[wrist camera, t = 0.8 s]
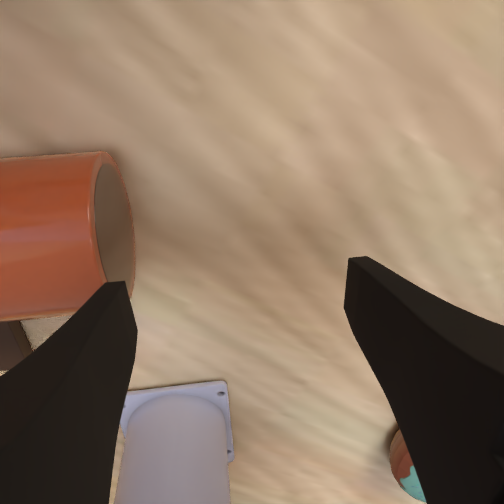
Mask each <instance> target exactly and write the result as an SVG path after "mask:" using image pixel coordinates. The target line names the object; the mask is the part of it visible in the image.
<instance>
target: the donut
mask: <svg viewBox="0 0 504 504" xmlns="http://www.w3.org/2000/svg"><path fill="white" fill-rule="evenodd" d="M390 464H391V470H392V473H393V475H394V477H395V479H396V480H397V482H398V484H399V485H400V487H401V488H402V489H403V490H404V491H405V492H407V493H408V494H409V495H411V496H412V497H414V498H415V499H418V500H421V501H423V502H426V499H425V497H424V494H423V491H422V488H421V485H420V482H419V479H418V477H417V474H416V471H415V468H414V465H413V462H412V460H411V457H410V454H409V452H408V449H407V446H406V444H405V441H404V439H403V436H402V433H401V431H400V429H399V430H398V431H397V433H396V435H395V437H394V439H393V441H392V443H391V447H390Z"/></svg>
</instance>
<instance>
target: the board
mask: <svg viewBox="0 0 504 504" xmlns="http://www.w3.org/2000/svg"><path fill="white" fill-rule="evenodd" d="M32 352H33V351H32V349H31V347H30V345H29V343H28V340H27V338H26V336H25V334H24V331H23V329H22V327H21V325H20V323H19V321H11V322H2V323H0V371H3V370H10V369H12V368H13V367H14V366H15V365H17V364H18V363H19V362H21V361H22V360H23V359H25V358H26V357H27V356H28V355H30V354H31V353H32Z"/></svg>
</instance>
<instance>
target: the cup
mask: <svg viewBox="0 0 504 504" xmlns="http://www.w3.org/2000/svg"><path fill="white" fill-rule="evenodd" d="M134 278H135V241H134V230H133V222H132V215H131V210H130V205H129V200H128V196H127V192H126V188H125V185H124V182H123V179H122V176H121V173H120V171H119V169H118V167H117V165H116V163H115V161H114V160H113V158H112V157H111V156H110V155H109V154H108V153H107V152H104V151H96V152H81V153H67V154H53V155H38V156H24V157H10V158H0V323H2V322H11V321H21V320H31V319H40V318H50V317H60V316H69V315H74V314H75V313H76V312H77V311H78V310H79V309H80V308H81V307H82V306H83V305H84V304H85V302H86V301H87V300H88V299H89V298H90V297H91V296H92V295H93V294H94V293H95V292H96V291H97V290H98V289H99V288H100V287H101V286H102V285H103V284H104V283H105V282H115V281H125V283H126V286H127V290H128V294H129V298H131V295H132V291H133V286H134Z"/></svg>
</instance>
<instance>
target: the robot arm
mask: <svg viewBox="0 0 504 504" xmlns="http://www.w3.org/2000/svg"><path fill="white" fill-rule="evenodd" d="M344 310H345V313H346V316H347V318H348V321H349V324H350V327H351V329H352V332H353V334H354V336H355V338H356V340H357V342H358V344H359V346H360V348H361V350H362V351H363V353H364V355H365V357H366V359H367V361H368V363H369V365H370V366H371V368H372V370H373V372H374V374H375V376H376V378H377V379H378V381H379V383H380V385H381V387H382V389H383V391H384V393H385V395H386V397H387V399H388V401H389V404H390V406H391V408H392V411H393V413H394V416H395V418H396V421H397V423H398V426H399V428H400V431H401V433H402V436H403V439H404V441H405V444H406V446H407V449H408V452H409V454H410V457H411V460H412V462H413V465H414V468H415V471H416V474H417V477H418V479H419V482H420V485H421V488H422V491H423V494H424V497H425V499H426V503H427V504H504V326H503V325H500V324H497V323H494V322H492V321H489V320H487V319H484V318H482V317H479V316H477V315H475V314H472V313H470V312H468V311H465V310H463V309H461V308H459V307H456V306H454V305H452V304H450V303H448V302H446V301H444V300H442V299H440V298H438V297H436V296H435V295H433V294H431V293H429V292H427V291H425V290H423V289H422V288H420V287H418V286H416V285H415V284H413V283H411V282H410V281H408V280H406V279H404V278H403V277H401V276H400V275H398V274H396V273H395V272H393V271H391V270H390V269H388V268H386V267H385V266H383V265H382V264H380V263H378V262H376V261H375V260H373V259H371V258H369V257H367V256H363V257H353V258H349V259H348V269H347V279H346V289H345V299H344ZM137 332H138V330H137V326H136V322H135V318H134V314H133V310H132V306H131V302H130V298H129V294H128V290H127V286H126V283H125V281H115V282H105V283H104V284H103V285H102V286H101V287H100V288H99V289H98V290H97V291H96V292H95V293H94V294H93V295H92V296H91V297H90V298H89V299H88V300H87V301H86V302H85V304H84V305H83V306H82V307H81V308H80V309H79V310H78V311H77V312H76V313H75V314H74V315H73V316H72V317H71V318H70V319H69V320H68V321H67V322H66V323H65V324H64V325H62V326H61V327H60V328H59V329H58V330H57V331H56V332H55V333H54V334H53V335H52V336H50V337H49V338H48V339H47V340H46V341H45V342H44V343H43V344H42V345H40V346H39V347H38V348H37V349H36V350H35V351H33V352H32V353H31V354H30V355H28V356H27V357H26V358H25V359H23V360H22V361H21V362H19V363H18V364H17V365H15V366H14V367H13V368H12V369H10V370H9V371H7V372H6V373H5V374H3V375H2V376H0V504H109V497H110V488H111V479H112V470H113V463H114V455H115V447H116V440H117V434H118V429H119V424H120V425H121V428H122V431H123V434H124V437H125V444H124V449H123V455H122V460H121V466H120V472H119V477H118V483H117V488H116V494H115V499H114V504H231V499H230V484H229V469H228V463H229V462H232V461H233V460H234V458H235V457H234V447H233V438H232V428H231V418H230V409H229V399H228V390H227V383H226V382H225V381H220V380H219V381H211V382H203V383H195V384H186V385H178V386H170V387H161V388H153V389H145V390H137V391H128V386H129V382H130V378H131V374H132V369H133V365H134V361H135V353H136V344H137ZM127 391H128V392H127ZM220 391H221V392H220Z"/></svg>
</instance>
